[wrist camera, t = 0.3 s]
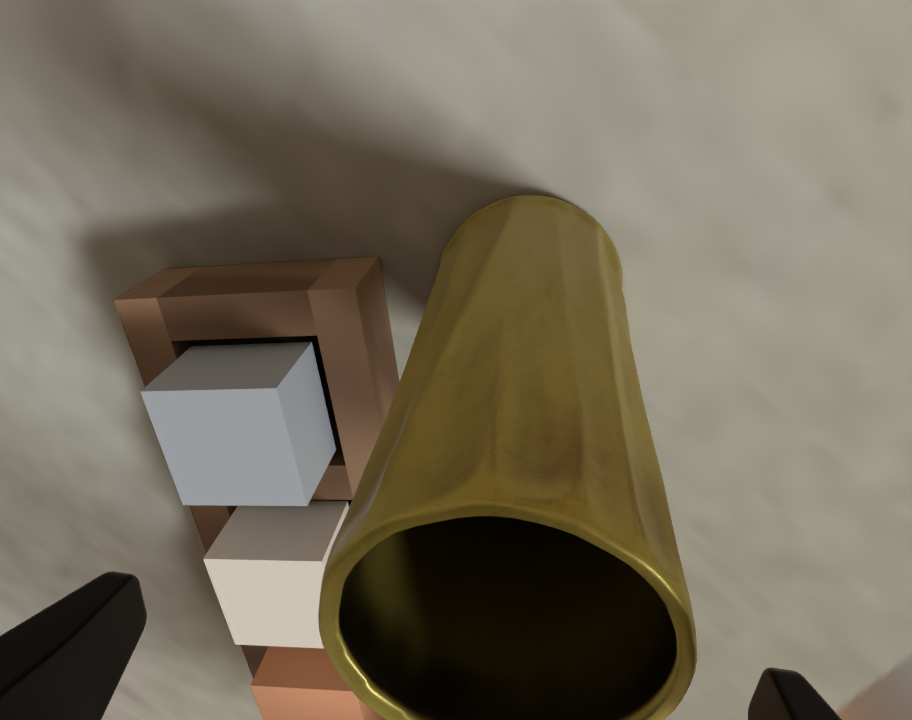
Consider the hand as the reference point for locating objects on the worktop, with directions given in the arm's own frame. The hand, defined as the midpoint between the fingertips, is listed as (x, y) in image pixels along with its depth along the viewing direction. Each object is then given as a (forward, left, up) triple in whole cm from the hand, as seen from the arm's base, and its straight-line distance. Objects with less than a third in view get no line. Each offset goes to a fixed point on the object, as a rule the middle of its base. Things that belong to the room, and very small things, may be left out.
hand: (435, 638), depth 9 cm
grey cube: (-3, +8, -11) cm, 14 cm away
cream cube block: (-9, +8, -11) cm, 17 cm away
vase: (0, -1, -14) cm, 14 cm away
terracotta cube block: (-16, +8, -11) cm, 21 cm away
